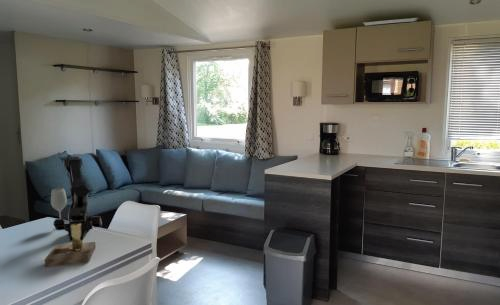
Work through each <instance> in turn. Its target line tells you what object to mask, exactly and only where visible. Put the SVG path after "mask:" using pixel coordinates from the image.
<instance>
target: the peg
mask: <svg viewBox="0 0 500 305" xmlns="http://www.w3.org/2000/svg"><path fill="white" fill-rule="evenodd" d="M71 235H72V242H71V244H72V248H73V249H75V250H76V251H80V248H82V247H83V244H82V243H83V241H81V236H82V229H81V223H73V224H71Z"/></svg>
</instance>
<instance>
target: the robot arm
mask: <svg viewBox="0 0 500 305" xmlns="http://www.w3.org/2000/svg"><path fill="white" fill-rule="evenodd" d="M62 163H63V167H64V168H65V171H66V173H67V174H68V175H69V176H68V177H69V183H70V184H69V185H70V187H69V197H71V203H70V206H69V208H68V209H69V210H68V211H67V220H66V219H65V218H61V219H60V218H56V219H54V221H53V224H52V225H53V227H55V228H56V230H55V231H65V232H67V233H68V234H67V235H68V238H69V242H70V243H72V235H71V224H73V223H81V229H82V236H81V241H82V242H83V241H84V239H85V238H86V236H87V234H88V233H89V232H90V230H93V228H101V227H102V225H103V221H102V217H101V216H100V215H92V216H90V219H89V218H88V216H89V211H88V201H89V195H90V193H91V189H90V188H89V187H88V186H87V184H86V181H85V180H83V178H82V172H81V168H82V166H83V158H80V157H79V156H68V157H65V159H63V161H62Z"/></svg>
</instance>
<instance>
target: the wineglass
mask: <svg viewBox="0 0 500 305" xmlns="http://www.w3.org/2000/svg"><path fill="white" fill-rule="evenodd" d="M50 194H51V195H50V204H51V207H52V208H53V209H54V210H55V211H57V212H58V215H59V216H58V217H59V219H62V214H61V213H62V211H63V209H64V208H66V206H67V204H68V200H67V199H68V198H67V194H66V190H65V188H55V189H52V190H51V193H50ZM53 230H54V231H57V230H56V228H55V226H53Z"/></svg>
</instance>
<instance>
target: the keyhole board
mask: <svg viewBox="0 0 500 305" xmlns="http://www.w3.org/2000/svg"><path fill="white" fill-rule="evenodd" d="M82 244H83V247H82V248H80V251H76V250H75V249H73V248H72V243H67V244H57V245H55V246H54V247H53V248H52V250H50V251H49V253H48V255H47V256H46V257H45V258H44V267H45V266H46V267H53V266H56V267H57V266H65V265H73V264H83V263H90V261H91V259H92V257H93V254H94V252H95V250H96V241H89V242H82Z"/></svg>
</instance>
